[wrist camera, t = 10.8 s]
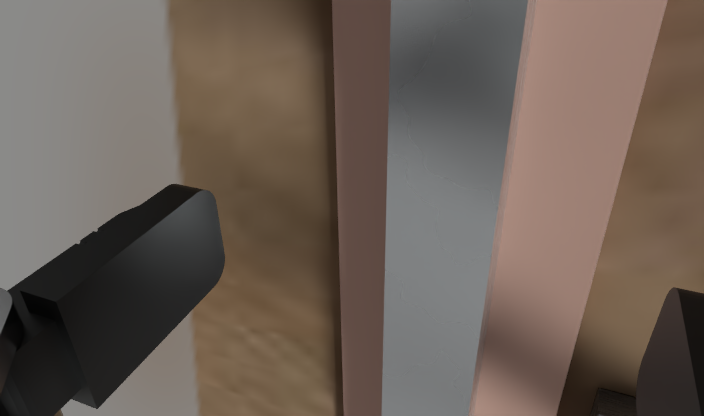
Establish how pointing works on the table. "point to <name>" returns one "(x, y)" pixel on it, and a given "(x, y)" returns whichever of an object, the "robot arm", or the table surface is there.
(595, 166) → the felt mat
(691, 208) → the table surface
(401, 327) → the steel rail
